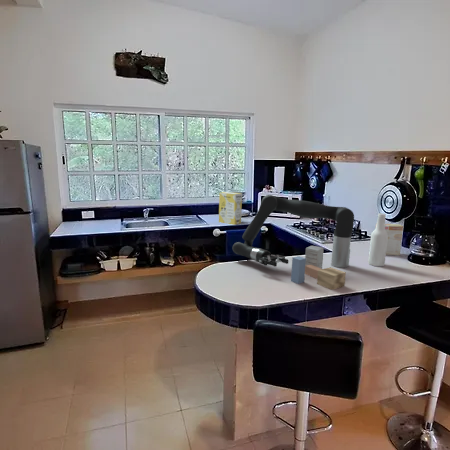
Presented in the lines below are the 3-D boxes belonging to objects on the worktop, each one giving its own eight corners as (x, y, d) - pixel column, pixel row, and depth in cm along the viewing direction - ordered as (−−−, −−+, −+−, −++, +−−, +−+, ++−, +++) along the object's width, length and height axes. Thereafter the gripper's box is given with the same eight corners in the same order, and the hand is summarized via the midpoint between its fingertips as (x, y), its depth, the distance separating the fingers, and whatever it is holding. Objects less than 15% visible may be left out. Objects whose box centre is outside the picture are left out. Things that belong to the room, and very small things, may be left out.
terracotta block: (303, 273, 176) (304, 265, 175) (310, 272, 178) (310, 264, 177) (317, 279, 167) (318, 271, 166) (324, 278, 169) (325, 269, 169)
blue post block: (296, 279, 166) (298, 256, 164) (304, 282, 163) (305, 258, 161) (290, 281, 164) (292, 257, 161) (298, 283, 160) (299, 259, 158)
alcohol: (375, 261, 200) (381, 212, 194) (387, 266, 192) (394, 214, 186) (364, 263, 197) (370, 212, 191) (376, 267, 189) (382, 215, 183)
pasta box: (241, 223, 312) (242, 193, 306) (234, 224, 303) (235, 194, 298) (225, 220, 322) (226, 191, 317) (218, 222, 314) (219, 192, 309)
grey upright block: (309, 267, 186) (311, 245, 184) (322, 270, 182) (324, 247, 179) (303, 270, 181) (305, 247, 178) (316, 273, 176) (318, 250, 174)
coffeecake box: (395, 252, 222) (399, 224, 218) (400, 255, 215) (404, 226, 211) (372, 251, 223) (375, 223, 219) (376, 254, 216) (379, 225, 212)
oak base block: (329, 280, 166) (330, 267, 165) (344, 286, 159) (345, 272, 158) (316, 284, 161) (318, 270, 160) (332, 290, 154) (333, 275, 152)
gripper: (251, 250, 178) (272, 258, 165) (270, 247, 186) (292, 254, 174) (250, 264, 179) (272, 272, 167) (269, 260, 188) (291, 267, 175)
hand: (282, 263), depth 170 cm, fingers open, 8 cm apart
